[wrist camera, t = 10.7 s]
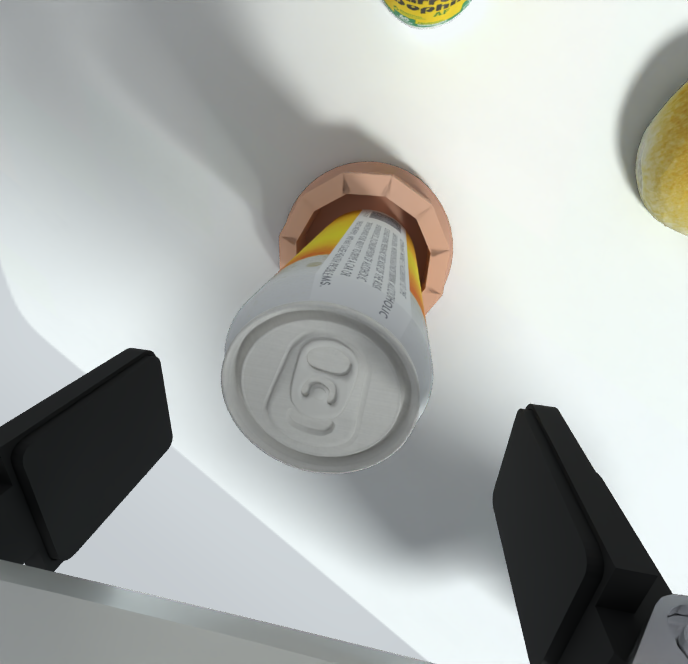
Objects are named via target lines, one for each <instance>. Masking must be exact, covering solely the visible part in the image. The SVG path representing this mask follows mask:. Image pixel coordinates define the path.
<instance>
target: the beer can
mask: <svg viewBox="0 0 688 664" xmlns="http://www.w3.org/2000/svg"><path fill="white" fill-rule="evenodd" d="M432 384H433V367H432V359H431V352H430V345H429V339H428V332H427V326H426V319H425V313H424V306H423V300H422V293H421V286H420V280H419V273H418V267H417V260H416V254H415V249H414V245H413V242H412V239H411V237H410V235H409V234H408V232H407V231H406V229H405V228H404V227H403V226H402V225H401V224H400V223H399V222H398V221H397V220H395V219H394V218H393V217H391V216H389V215H387V214H385V213H382V212H379V211H375V210H367V209H362V210H355V211H351V212H348V213H345V214H343V215H341V216H339V217H338V218H336V219H335V220H334V221H332V222H331V223H330V224H329V225H328V226H327V227H326V228H325V229H324V230H323V231H322V232H321V233H319V234H318V235H317V236H316V237H315V238H314V239H313V240H312V241H311V242H310V243H309V244H308V245H307V246H306V247H304V248H303V249H302V250H301V251H300V252H299V253H298V254H297V255H296V256H295V257H294V258H293V259H292V260H291V261H290V262H288V263H287V264H286V265H285V266H284V267H283V268H282V269H281V270H280V271H279V272H278V273H277V274H276V275H275V276H274V277H272V278H271V279H270V280H269V281H268V282H267V283H266V284H265V285H264V286H263V287H262V288H261V289H260V290H259V291H258V292H256V293H255V294H254V295H253V296H252V297H251V298H250V299H249V300H248V301H247V302H246V303H245V304H244V305H243V307H242V308H241V309H240V310H239V312H238V313H237V315H236V316H235V318H234V320H233V322H232V324H231V326H230V328H229V332H228V335H227V338H226V344H225V358H224V361H223V365H222V371H221V385H222V393H223V397H224V401H225V404H226V406H227V409H228V411H229V413H230V415H231V417H232V419H233V421H234V422H235V424H236V425H237V427H238V428H239V429H240V430H241V432H242V433H243V434H244V435H245V436H246V437H247V438H248V439H249V440H250V441H251V442H252V443H253V444H254V445H255V446H256V447H258V448H259V449H260V450H262V451H263V452H264V453H266V454H267V455H269V456H271V457H272V458H274V459H276V460H278V461H280V462H282V463H284V464H286V465H289V466H292V467H294V468H298V469H301V470H305V471H310V472H315V473H324V474H340V473H349V472H355V471H359V470H363V469H366V468H369V467H372V466H374V465H376V464H378V463H380V462H382V461H384V460H385V459H387V458H388V457H390V456H391V455H393V454H394V453H395V452H396V451H397V450H398V449H399V448H400V447H401V446H402V445H403V444H404V443H405V442H406V440H407V439H408V437H409V436H410V434H411V432H412V430H413V428H414V426H415V424H416V422H417V421H418V419H419V418H420V416H421V415H422V413H423V411H424V409H425V407H426V405H427V403H428V400H429V397H430V394H431V389H432Z"/></svg>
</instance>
